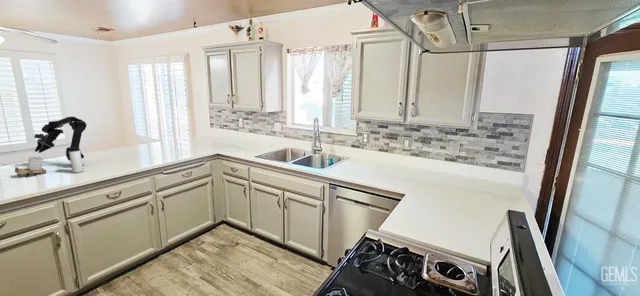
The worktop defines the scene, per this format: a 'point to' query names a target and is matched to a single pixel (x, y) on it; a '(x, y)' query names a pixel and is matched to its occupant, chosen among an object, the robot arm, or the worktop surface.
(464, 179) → the worktop surface
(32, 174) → the pivot stand
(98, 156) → the worktop surface
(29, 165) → the block
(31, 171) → the walnut beam
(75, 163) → the travel mug
